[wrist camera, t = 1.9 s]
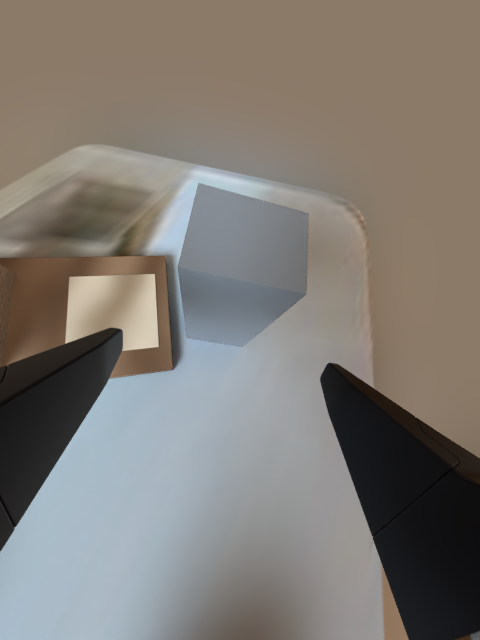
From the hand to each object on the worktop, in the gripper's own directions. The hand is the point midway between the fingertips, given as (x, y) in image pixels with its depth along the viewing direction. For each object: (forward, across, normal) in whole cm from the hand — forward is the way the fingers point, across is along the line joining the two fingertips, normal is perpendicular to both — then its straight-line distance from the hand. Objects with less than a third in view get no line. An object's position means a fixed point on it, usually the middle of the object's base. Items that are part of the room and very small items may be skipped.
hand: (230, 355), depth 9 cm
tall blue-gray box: (+12, 0, +5) cm, 13 cm away
